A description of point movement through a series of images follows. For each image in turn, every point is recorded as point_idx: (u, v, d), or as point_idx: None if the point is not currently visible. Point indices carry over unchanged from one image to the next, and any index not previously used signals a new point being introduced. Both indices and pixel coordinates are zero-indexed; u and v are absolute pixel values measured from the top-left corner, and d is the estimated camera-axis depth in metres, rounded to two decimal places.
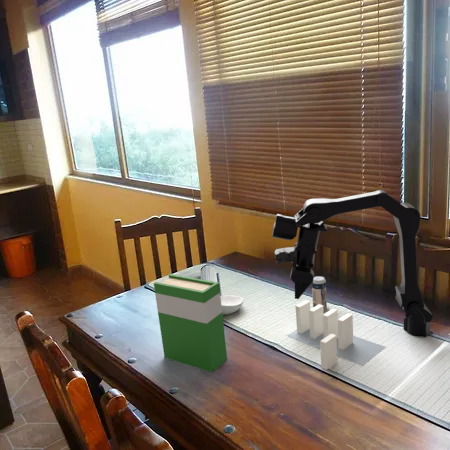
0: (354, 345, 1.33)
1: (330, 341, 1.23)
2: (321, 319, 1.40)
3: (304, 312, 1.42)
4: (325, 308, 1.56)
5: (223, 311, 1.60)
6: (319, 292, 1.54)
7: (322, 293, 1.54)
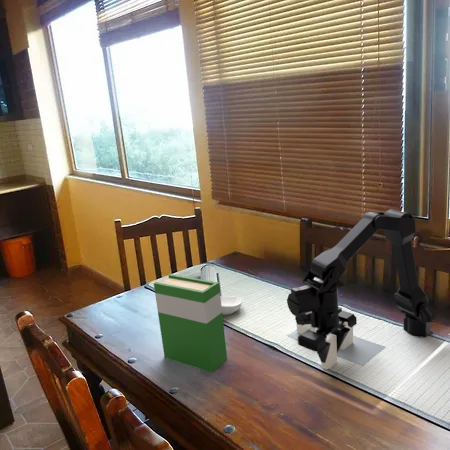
0: (354, 345, 1.33)
1: (330, 341, 1.23)
2: None
3: None
4: None
5: (222, 312, 1.59)
6: None
7: None
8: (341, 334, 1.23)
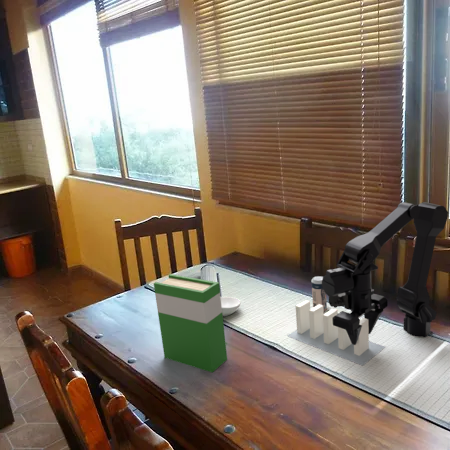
0: None
1: (363, 324, 1.27)
2: (321, 319, 1.40)
3: (304, 312, 1.42)
4: (325, 308, 1.56)
5: None
6: (319, 292, 1.54)
7: (322, 293, 1.54)
8: (375, 314, 1.28)
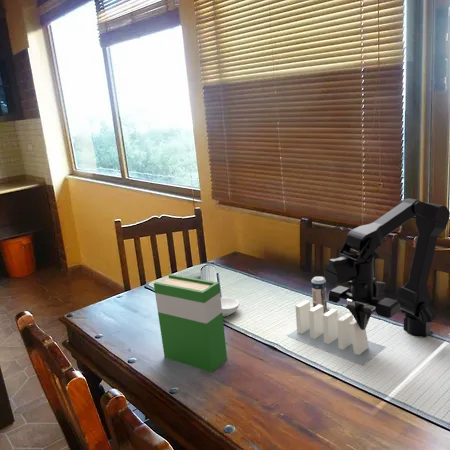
0: None
1: None
2: (321, 319, 1.40)
3: (304, 312, 1.42)
4: (325, 308, 1.56)
5: None
6: (319, 292, 1.54)
7: (322, 293, 1.54)
8: None
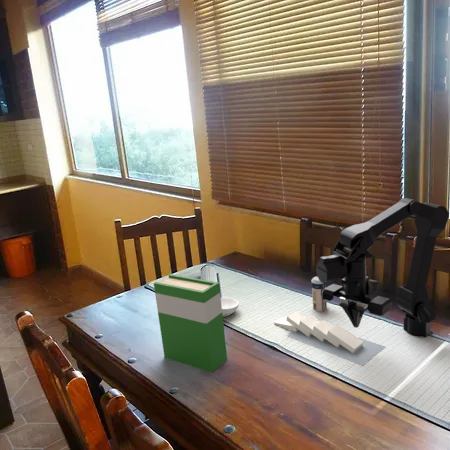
0: None
1: (334, 328, 1.35)
2: None
3: (284, 321, 1.50)
4: (325, 308, 1.56)
5: None
6: (319, 292, 1.54)
7: None
8: None
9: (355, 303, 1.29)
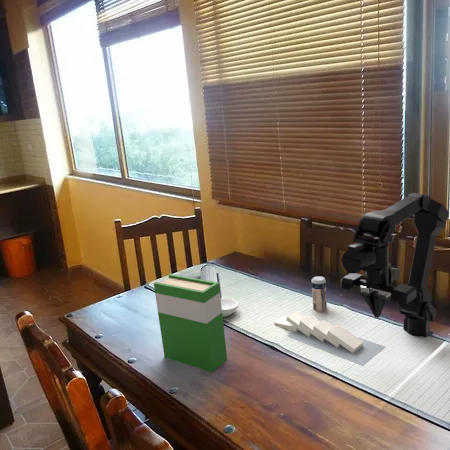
0: None
1: (334, 328, 1.35)
2: None
3: (284, 321, 1.50)
4: (325, 308, 1.56)
5: None
6: (319, 292, 1.54)
7: (322, 293, 1.54)
8: None
9: (376, 292, 1.23)
